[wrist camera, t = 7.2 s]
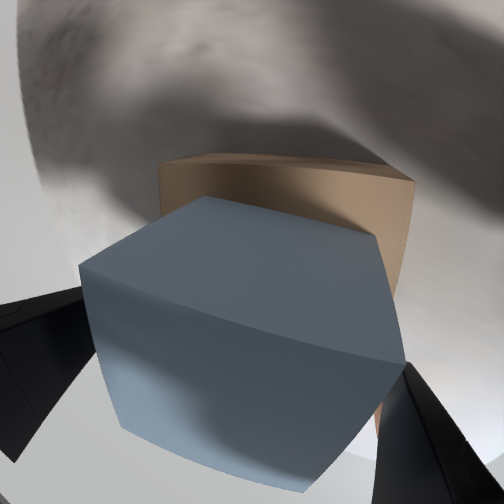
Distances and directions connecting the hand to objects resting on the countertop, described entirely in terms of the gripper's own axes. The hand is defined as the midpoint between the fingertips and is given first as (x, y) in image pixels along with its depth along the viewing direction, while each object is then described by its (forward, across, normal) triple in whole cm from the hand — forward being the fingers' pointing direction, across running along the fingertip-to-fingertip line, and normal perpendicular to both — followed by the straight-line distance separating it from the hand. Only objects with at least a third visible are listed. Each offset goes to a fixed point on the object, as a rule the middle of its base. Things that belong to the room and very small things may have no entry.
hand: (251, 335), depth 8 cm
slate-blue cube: (+3, 0, 0) cm, 3 cm away
